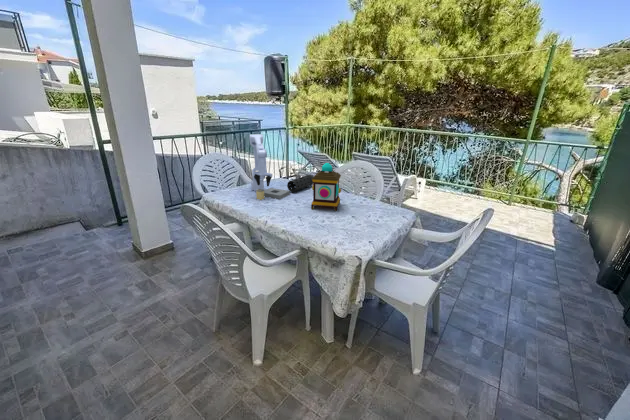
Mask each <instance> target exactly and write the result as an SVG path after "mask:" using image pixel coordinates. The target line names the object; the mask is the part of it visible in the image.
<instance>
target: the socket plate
mask: <svg viewBox="0 0 630 420" xmlns="http://www.w3.org/2000/svg"><path fill="white" fill-rule="evenodd" d="M290 195H291V191H289V190H287V189H280V188H274V187H269V188H266V190H264V196H265V197H264V198H269V197H271V198H270V199H275V198H276V199H275V200H282V199H284V198H286V197H288V196H290Z"/></svg>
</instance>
